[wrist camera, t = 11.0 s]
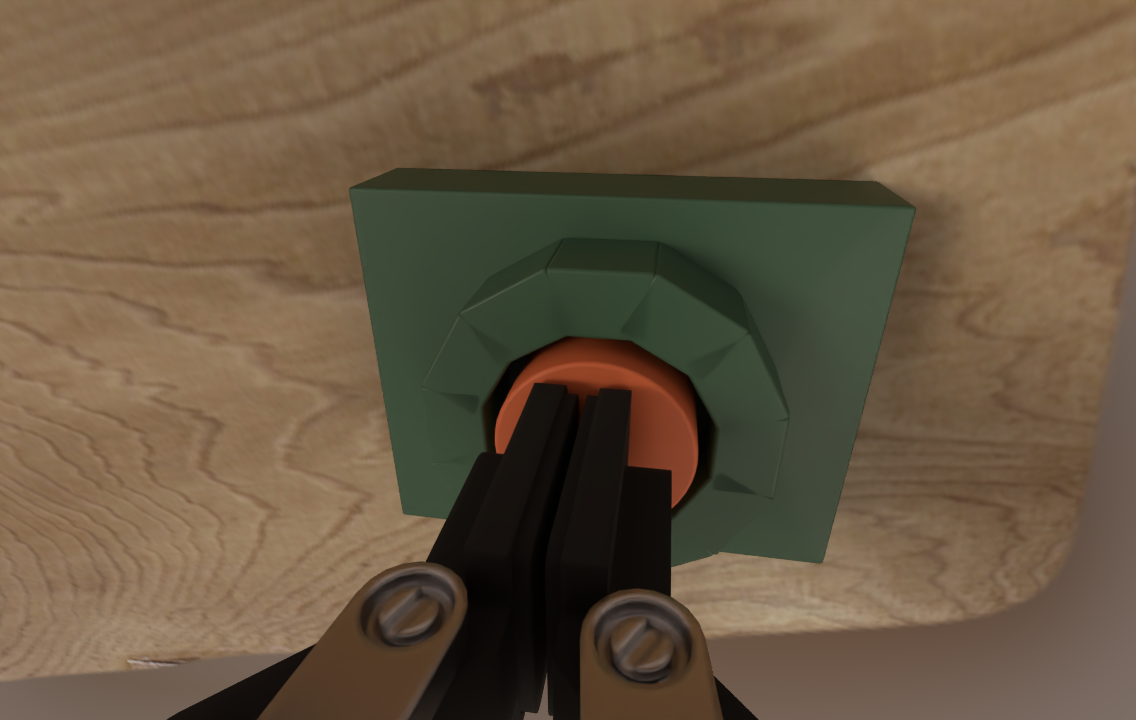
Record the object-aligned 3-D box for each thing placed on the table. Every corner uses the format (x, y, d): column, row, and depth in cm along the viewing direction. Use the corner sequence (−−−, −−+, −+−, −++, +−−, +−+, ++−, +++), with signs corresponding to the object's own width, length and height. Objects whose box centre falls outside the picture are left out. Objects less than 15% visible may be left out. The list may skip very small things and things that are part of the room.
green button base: (879, 180, 12) (963, 237, 8) (805, 500, 15) (841, 633, 12) (396, 167, 13) (293, 210, 10) (434, 461, 17) (369, 570, 13)
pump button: (705, 327, 11) (709, 371, 9) (687, 483, 13) (688, 543, 11) (513, 314, 11) (487, 355, 10) (520, 466, 13) (499, 521, 12)
